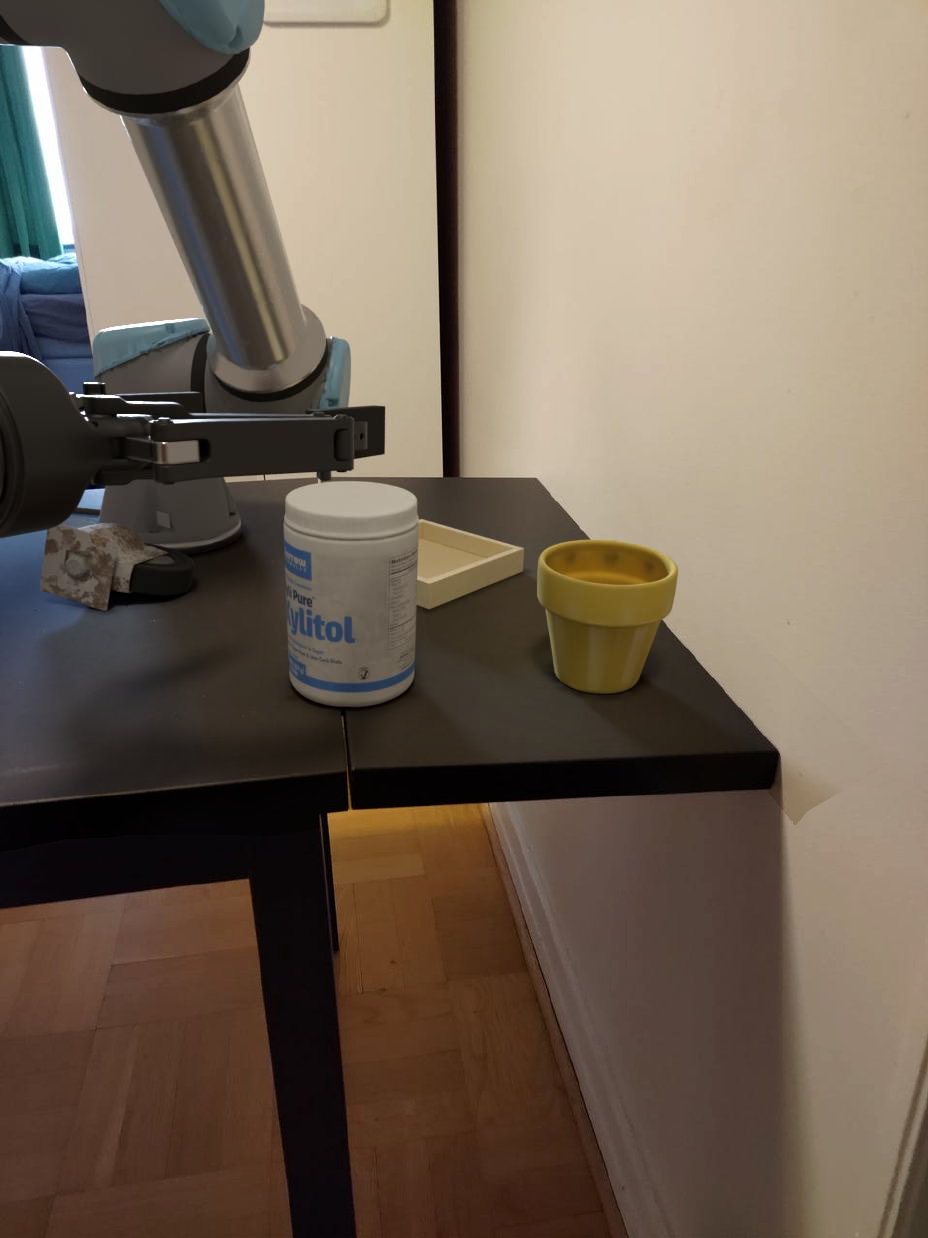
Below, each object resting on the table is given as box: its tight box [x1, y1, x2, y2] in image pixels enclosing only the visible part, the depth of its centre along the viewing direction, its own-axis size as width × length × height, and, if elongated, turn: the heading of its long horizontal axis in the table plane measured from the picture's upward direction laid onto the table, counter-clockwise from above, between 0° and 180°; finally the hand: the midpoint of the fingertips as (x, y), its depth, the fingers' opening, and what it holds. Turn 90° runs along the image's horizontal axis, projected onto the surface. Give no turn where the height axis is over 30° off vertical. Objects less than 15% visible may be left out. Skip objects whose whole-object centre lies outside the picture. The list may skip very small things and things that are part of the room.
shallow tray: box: [416, 518, 525, 610], centre depth 88 cm, size 15×15×3 cm
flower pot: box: [536, 539, 679, 695], centre depth 66 cm, size 10×10×10 cm
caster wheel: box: [39, 523, 196, 612], centre depth 80 cm, size 7×11×10 cm
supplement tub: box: [283, 480, 420, 708], centre depth 62 cm, size 10×10×15 cm
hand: (284, 421), depth 52 cm, fingers open, 13 cm apart
